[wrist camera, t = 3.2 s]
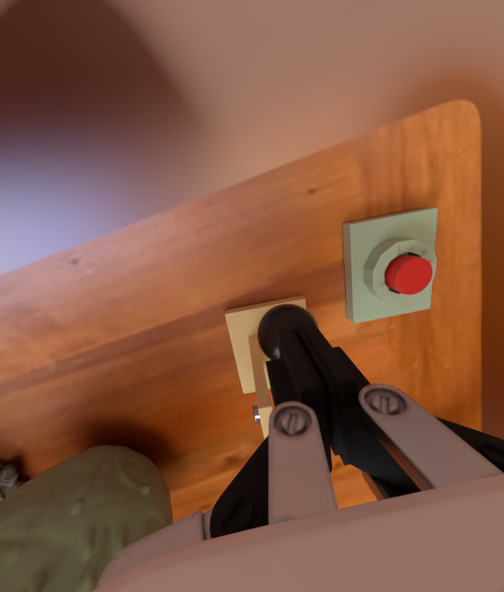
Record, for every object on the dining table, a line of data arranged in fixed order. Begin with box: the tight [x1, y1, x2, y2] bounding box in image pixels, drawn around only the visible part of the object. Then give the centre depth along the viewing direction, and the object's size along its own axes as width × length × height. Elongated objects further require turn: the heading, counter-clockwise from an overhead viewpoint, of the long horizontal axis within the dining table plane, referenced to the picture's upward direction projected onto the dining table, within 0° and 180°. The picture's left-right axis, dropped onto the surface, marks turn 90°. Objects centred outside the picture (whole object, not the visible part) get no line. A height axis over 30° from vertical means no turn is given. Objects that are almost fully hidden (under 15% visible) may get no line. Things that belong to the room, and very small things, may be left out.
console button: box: [385, 255, 433, 295], centre depth 23 cm, size 4×4×2 cm
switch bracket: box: [225, 295, 307, 439], centre depth 23 cm, size 11×9×12 cm
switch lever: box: [257, 304, 319, 360], centre depth 16 cm, size 13×3×3 cm, turn 10°
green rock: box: [0, 445, 173, 592], centre depth 23 cm, size 16×19×20 cm
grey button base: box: [343, 207, 438, 324], centre depth 25 cm, size 11×9×4 cm
